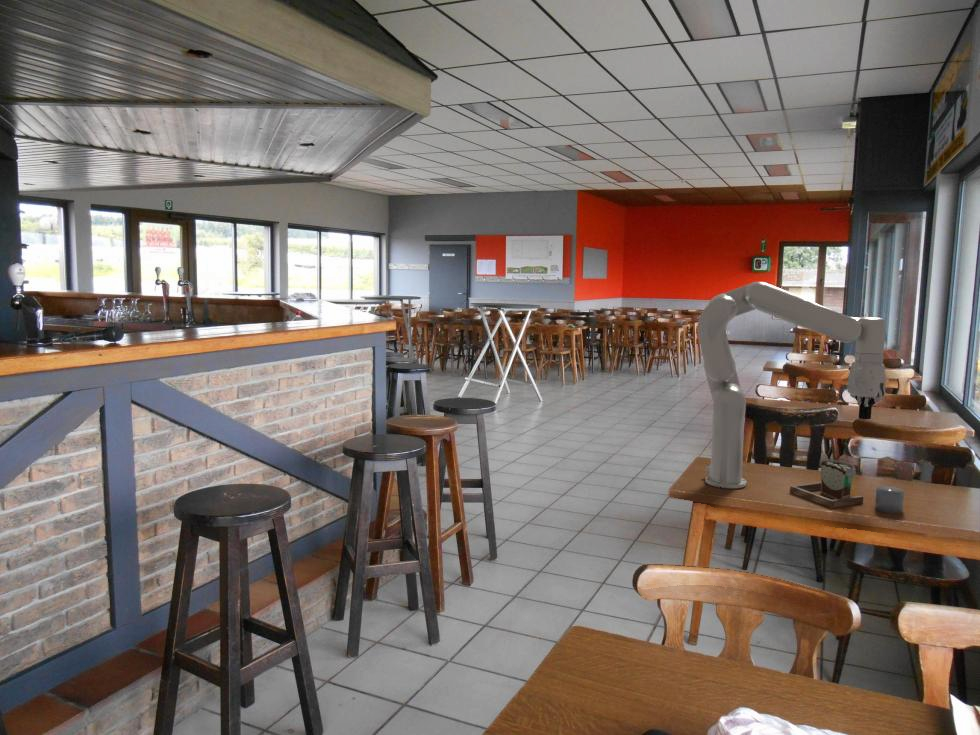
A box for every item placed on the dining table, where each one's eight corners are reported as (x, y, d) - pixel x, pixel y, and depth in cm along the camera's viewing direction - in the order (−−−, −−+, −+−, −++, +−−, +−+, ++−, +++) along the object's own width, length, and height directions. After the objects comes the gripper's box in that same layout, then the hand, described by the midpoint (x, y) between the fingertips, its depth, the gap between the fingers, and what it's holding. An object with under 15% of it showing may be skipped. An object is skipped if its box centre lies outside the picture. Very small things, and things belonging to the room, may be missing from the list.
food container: (863, 501, 214) (865, 468, 213) (845, 503, 213) (847, 469, 211) (835, 489, 226) (837, 458, 225) (818, 490, 225) (820, 459, 223)
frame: (789, 492, 223) (790, 486, 222) (819, 488, 227) (820, 482, 227) (831, 508, 208) (832, 501, 208) (862, 503, 212) (863, 496, 212)
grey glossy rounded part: (869, 507, 209) (870, 487, 208) (886, 504, 211) (888, 484, 210) (890, 515, 202) (892, 494, 201) (908, 512, 205) (910, 491, 204)
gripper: (839, 356, 223) (835, 415, 225) (881, 362, 209) (876, 424, 212) (857, 355, 226) (853, 413, 228) (900, 361, 212) (895, 422, 214)
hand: (864, 418), depth 220 cm, fingers closed
